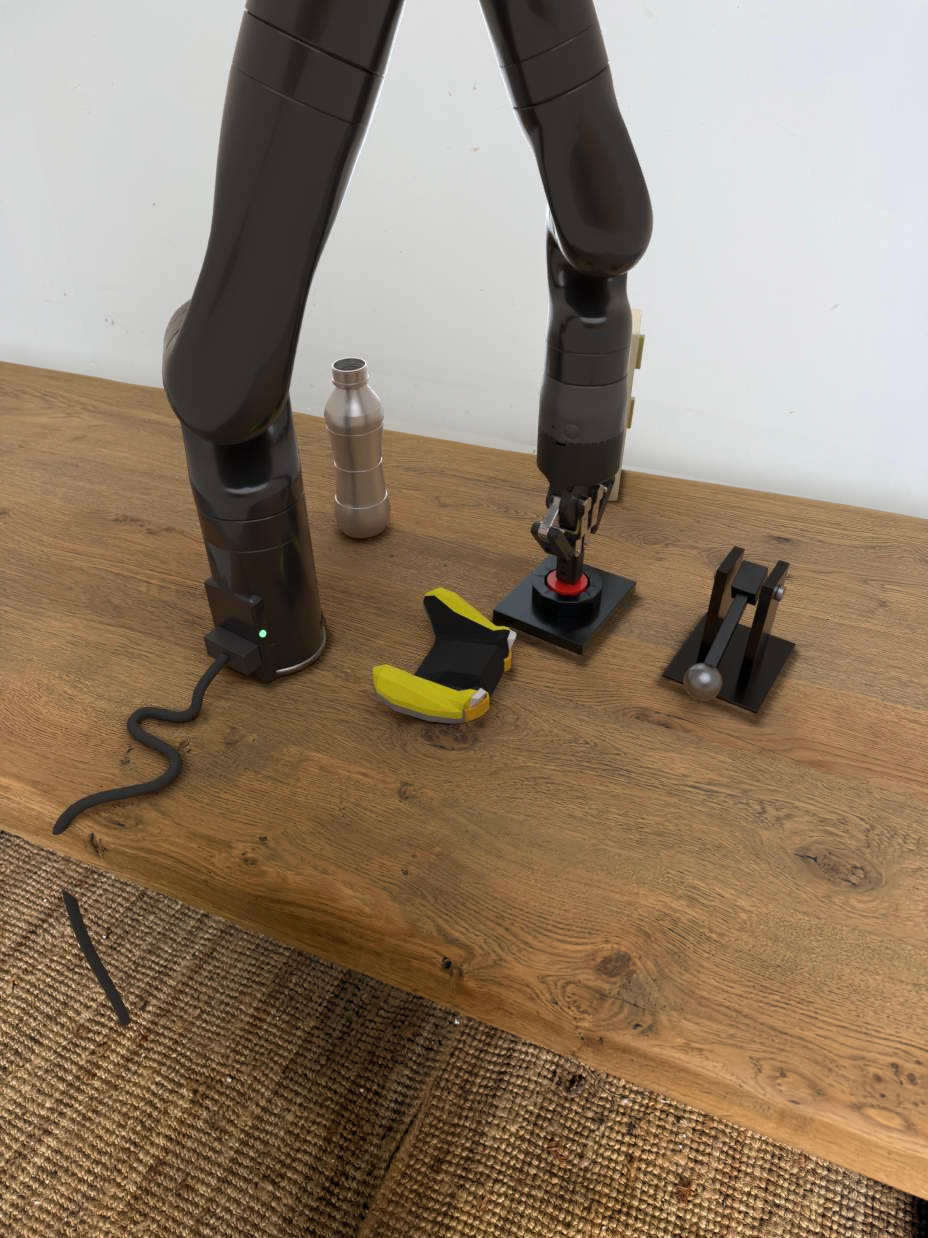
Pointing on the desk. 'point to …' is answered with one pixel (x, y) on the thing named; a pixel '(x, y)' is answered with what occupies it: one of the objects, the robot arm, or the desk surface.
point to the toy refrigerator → (630, 385)
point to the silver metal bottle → (357, 450)
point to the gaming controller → (450, 665)
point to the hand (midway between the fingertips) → (568, 579)
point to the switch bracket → (739, 639)
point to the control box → (564, 607)
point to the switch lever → (725, 632)
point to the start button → (566, 585)
